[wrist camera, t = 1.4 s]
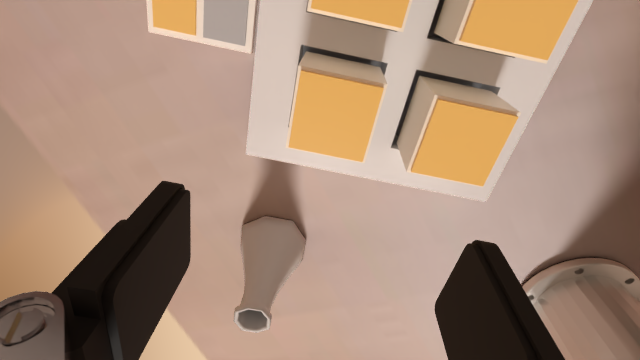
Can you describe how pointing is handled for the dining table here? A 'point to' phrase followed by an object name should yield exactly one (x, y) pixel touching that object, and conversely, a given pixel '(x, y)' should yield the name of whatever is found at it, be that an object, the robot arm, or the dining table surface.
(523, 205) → the dining table surface
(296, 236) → the flask
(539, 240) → the dining table surface
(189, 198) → the robot arm
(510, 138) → the button board
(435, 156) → the button
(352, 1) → the button
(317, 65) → the button
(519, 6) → the button
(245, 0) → the card
